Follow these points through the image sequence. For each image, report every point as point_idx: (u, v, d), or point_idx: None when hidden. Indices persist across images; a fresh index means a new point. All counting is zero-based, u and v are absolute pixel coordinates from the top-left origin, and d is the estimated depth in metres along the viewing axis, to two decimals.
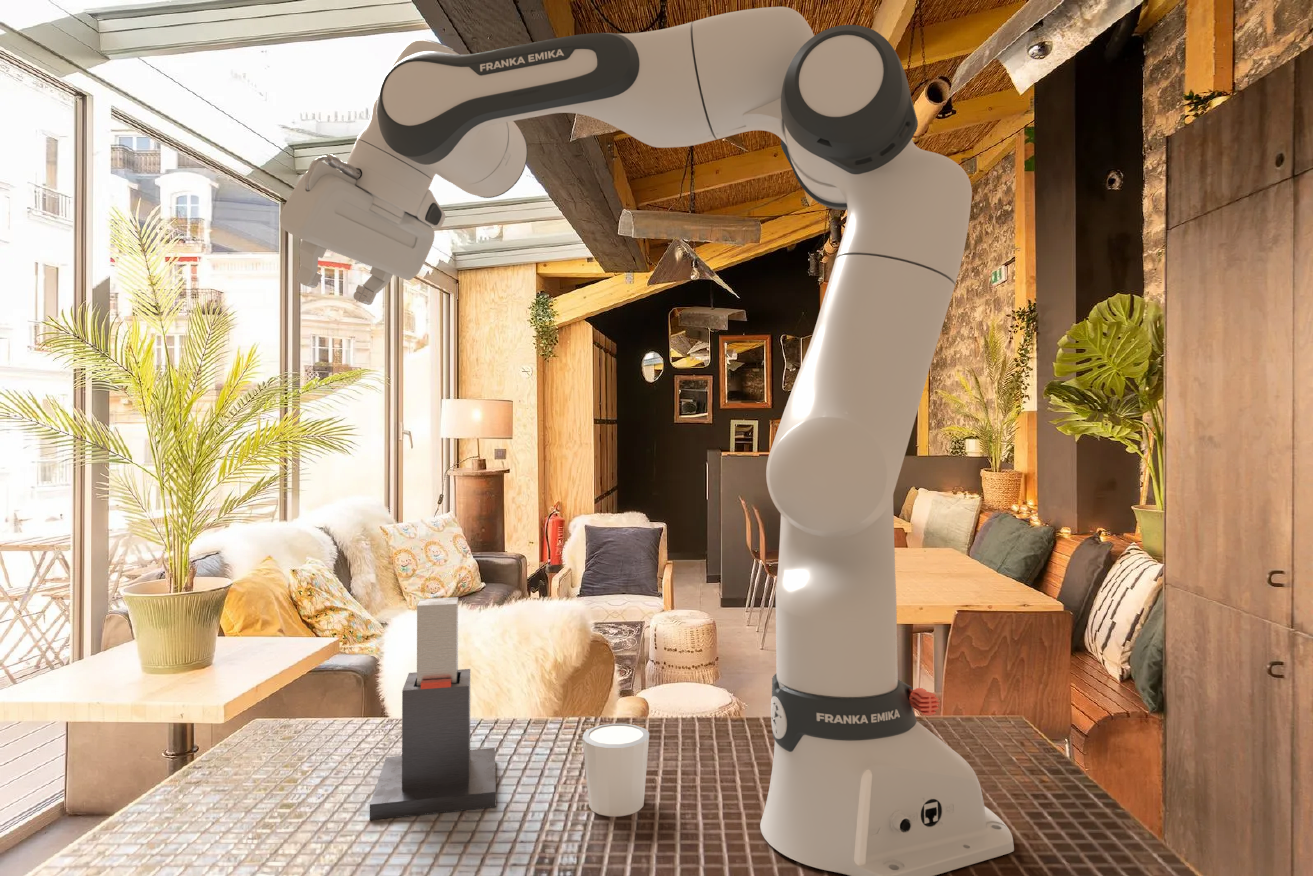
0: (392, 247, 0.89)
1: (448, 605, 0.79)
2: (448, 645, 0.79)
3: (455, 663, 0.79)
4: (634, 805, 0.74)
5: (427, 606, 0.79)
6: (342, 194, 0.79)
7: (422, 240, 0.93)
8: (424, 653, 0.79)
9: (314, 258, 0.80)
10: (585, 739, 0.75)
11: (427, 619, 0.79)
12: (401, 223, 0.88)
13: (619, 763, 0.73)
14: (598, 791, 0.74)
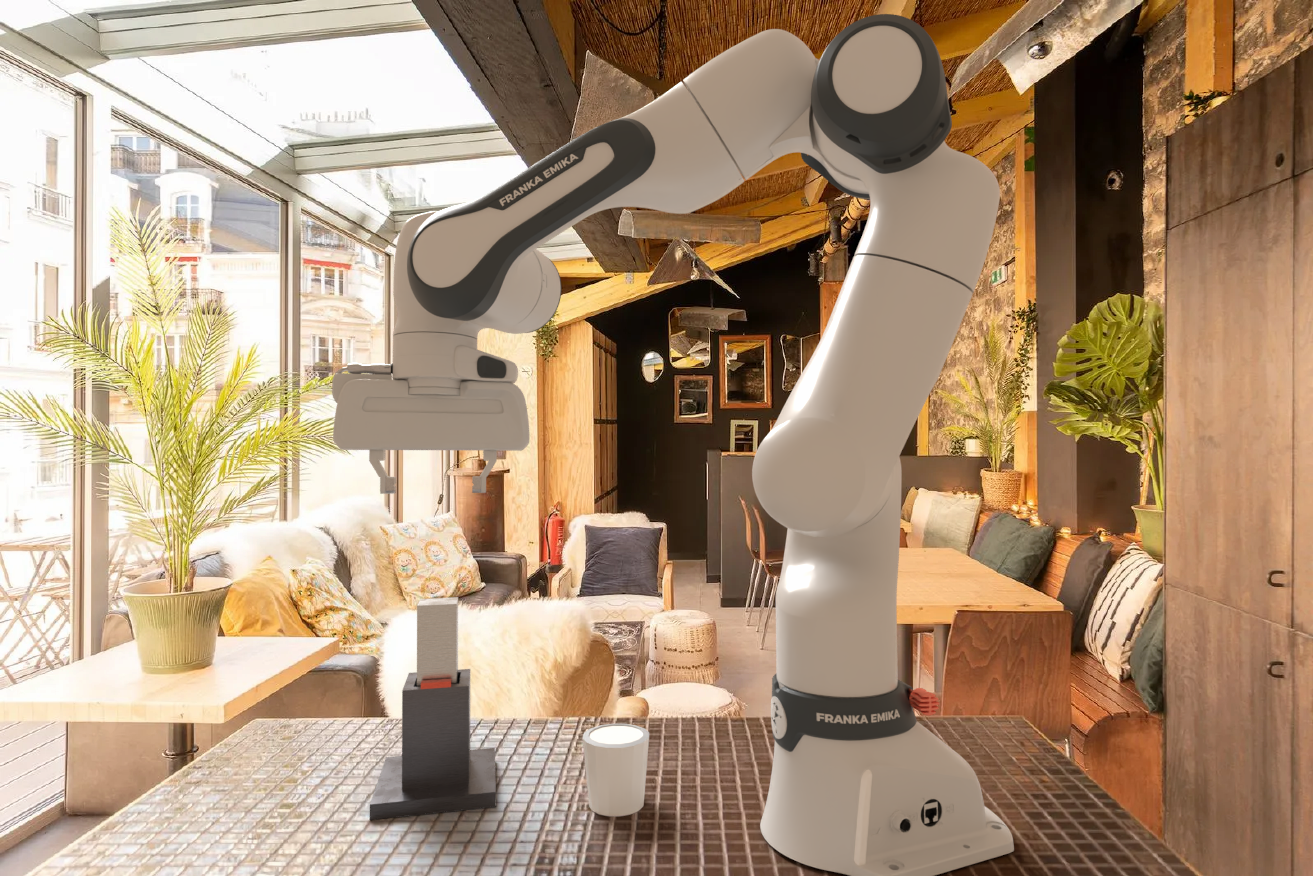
0: (468, 421, 0.81)
1: (448, 605, 0.79)
2: (448, 645, 0.79)
3: (455, 663, 0.79)
4: (634, 805, 0.74)
5: (427, 606, 0.79)
6: (363, 392, 0.78)
7: (507, 400, 0.81)
8: (424, 653, 0.79)
9: (373, 463, 0.79)
10: (585, 739, 0.75)
11: (427, 619, 0.79)
12: (462, 393, 0.80)
13: (619, 763, 0.73)
14: (598, 791, 0.74)
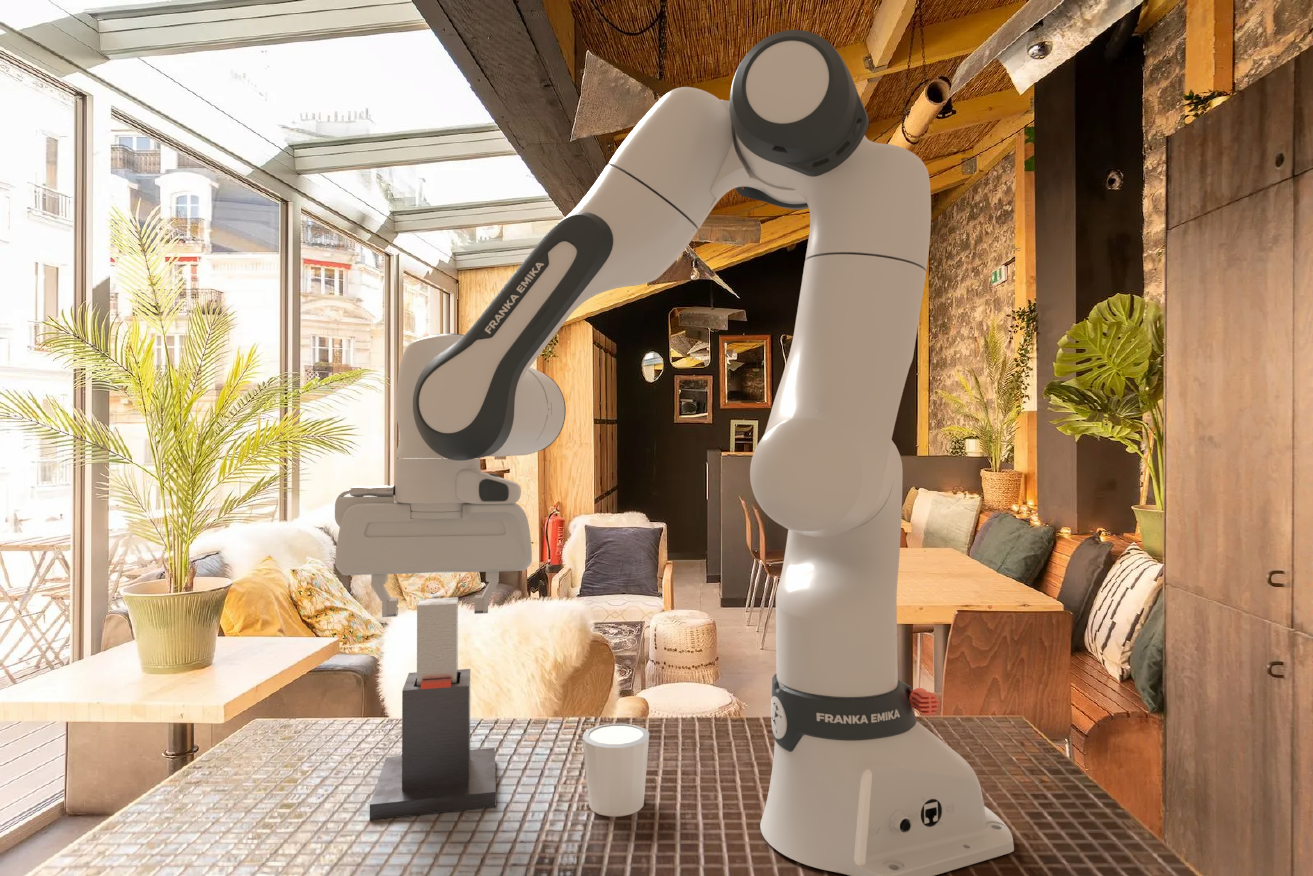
0: (470, 544, 0.80)
1: (448, 605, 0.79)
2: (448, 645, 0.79)
3: (455, 663, 0.79)
4: (634, 805, 0.74)
5: (427, 606, 0.79)
6: (365, 517, 0.78)
7: (509, 522, 0.81)
8: (424, 653, 0.79)
9: (375, 587, 0.79)
10: (585, 739, 0.75)
11: (427, 619, 0.79)
12: (465, 516, 0.80)
13: (619, 763, 0.73)
14: (598, 791, 0.74)
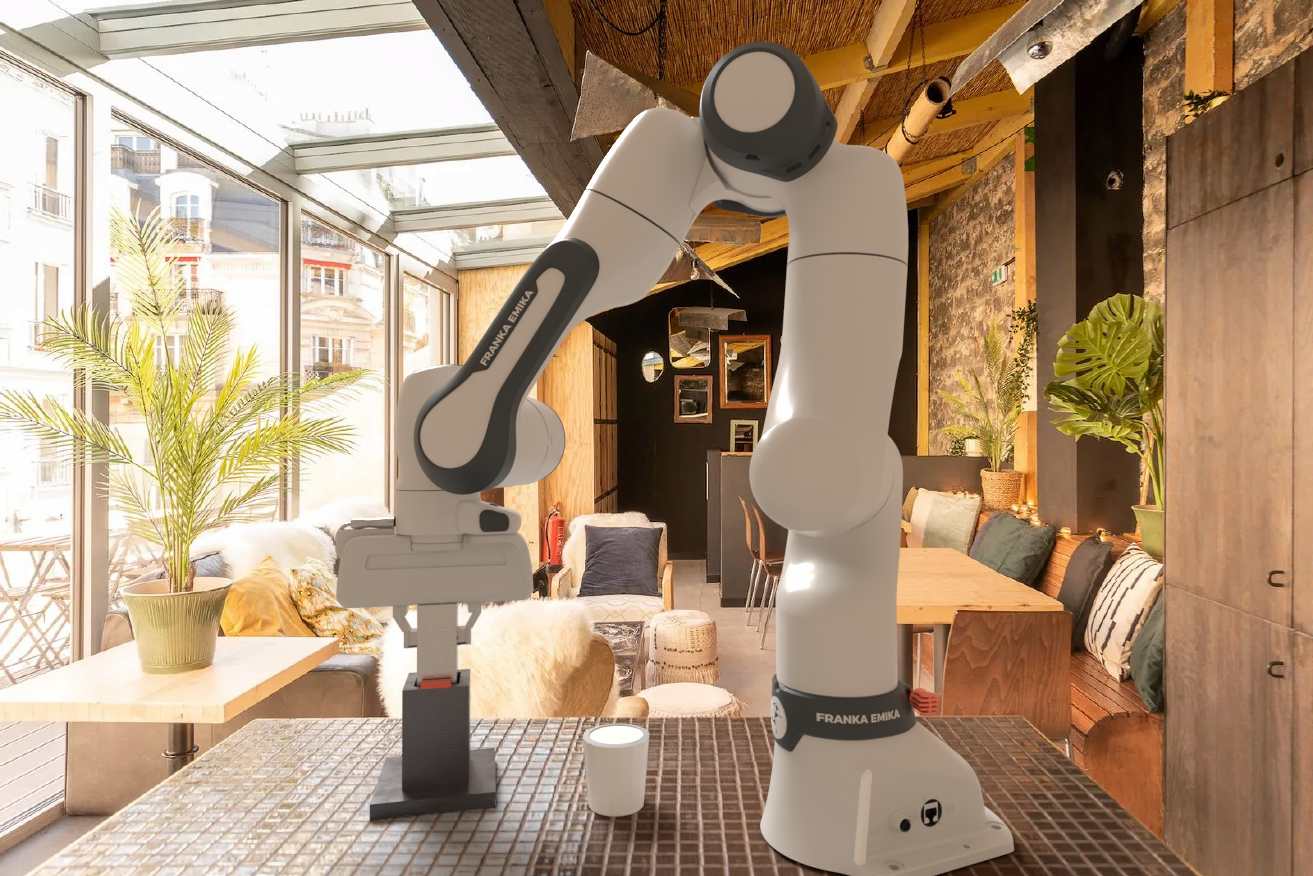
0: (471, 574, 0.80)
1: (448, 605, 0.79)
2: (448, 645, 0.79)
3: (455, 663, 0.79)
4: (634, 805, 0.74)
5: (427, 606, 0.79)
6: (366, 550, 0.78)
7: (510, 551, 0.81)
8: (424, 653, 0.79)
9: (396, 619, 0.79)
10: (585, 739, 0.75)
11: (427, 619, 0.79)
12: (465, 546, 0.80)
13: (619, 763, 0.73)
14: (598, 791, 0.74)
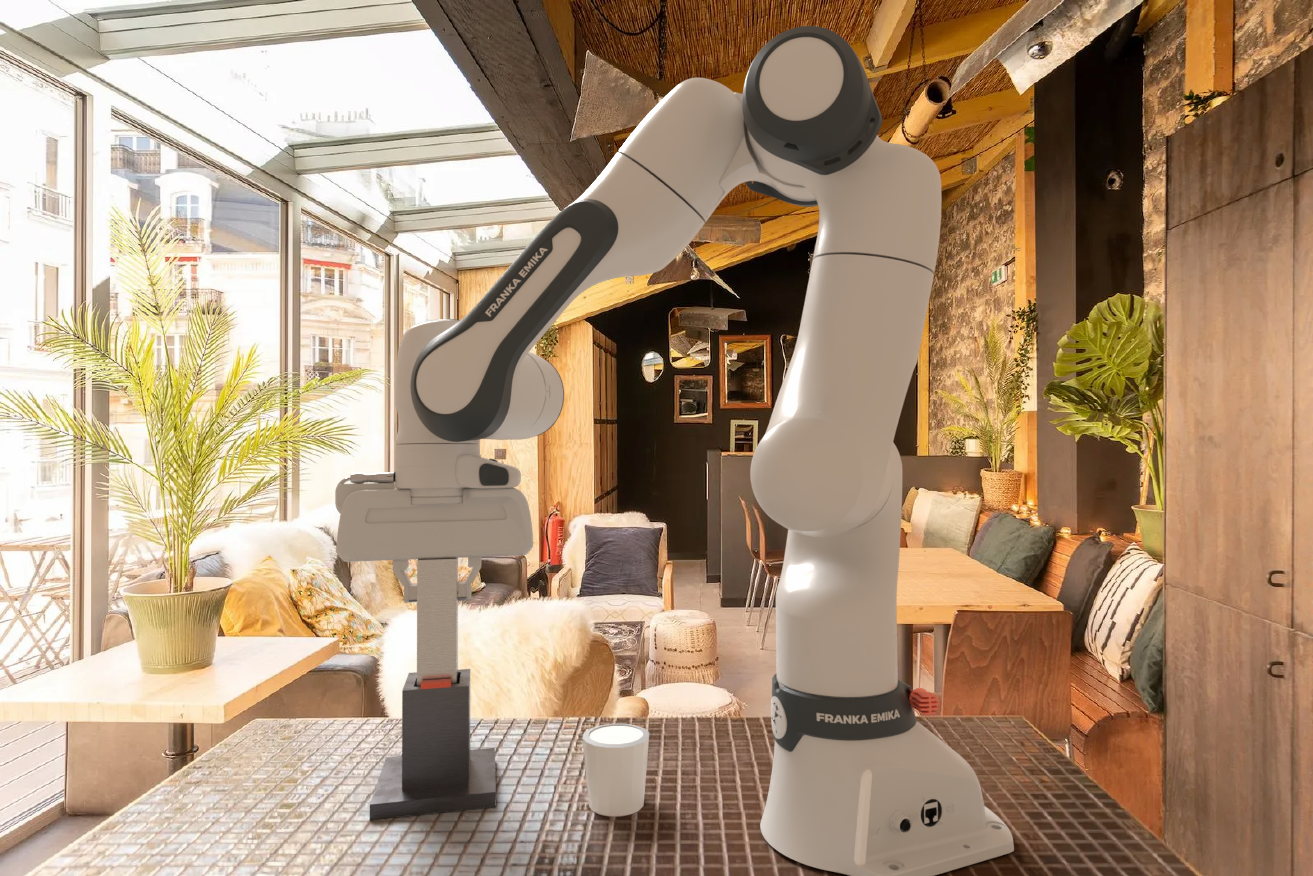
0: (471, 529, 0.80)
1: (448, 560, 0.79)
2: (448, 600, 0.79)
3: (455, 618, 0.79)
4: (634, 805, 0.74)
5: (427, 561, 0.79)
6: (366, 503, 0.78)
7: (510, 506, 0.81)
8: (424, 607, 0.79)
9: (396, 573, 0.79)
10: (585, 739, 0.75)
11: (427, 574, 0.79)
12: (465, 501, 0.80)
13: (619, 763, 0.73)
14: (598, 791, 0.74)
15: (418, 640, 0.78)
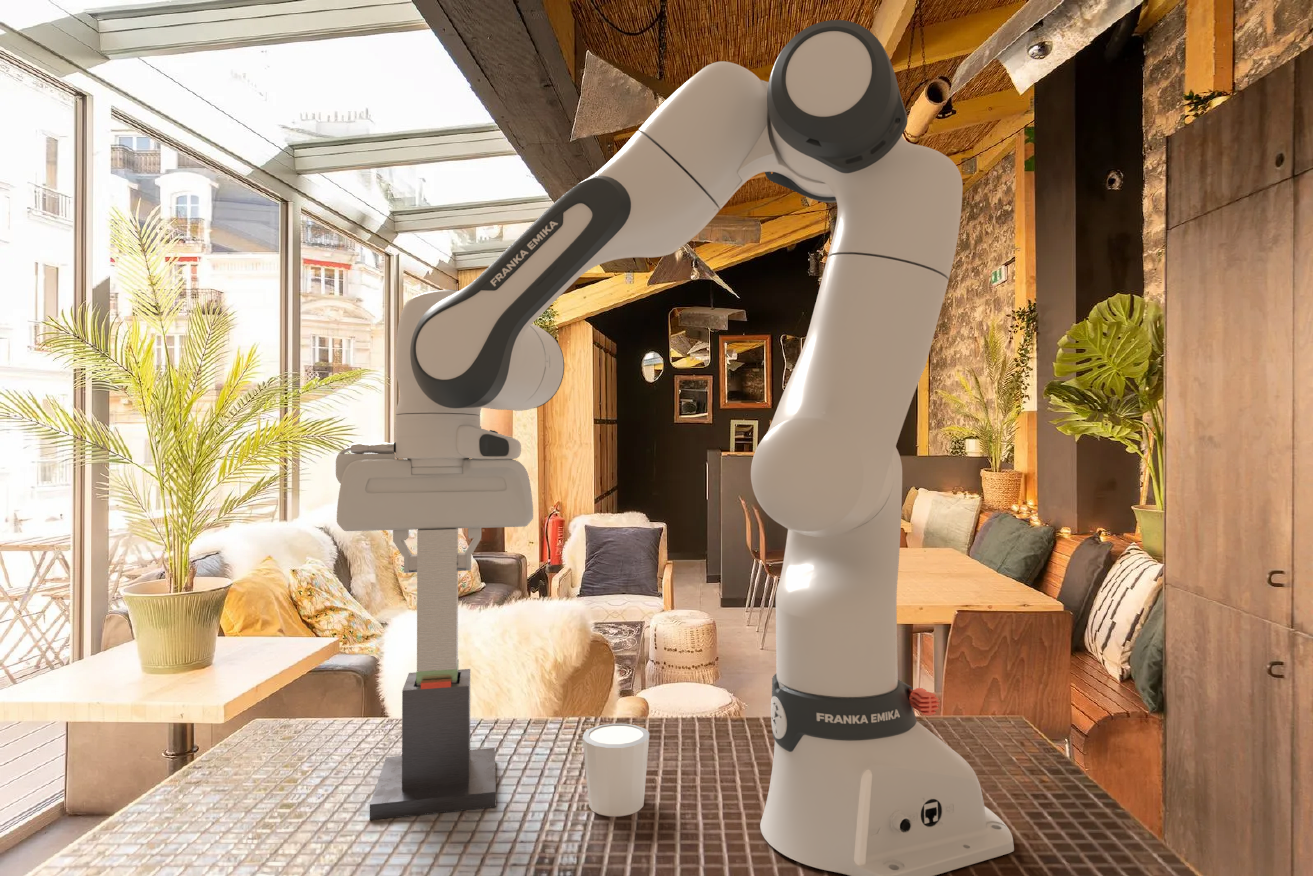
0: (471, 499, 0.80)
1: (448, 530, 0.79)
2: (449, 570, 0.79)
3: (455, 588, 0.79)
4: (634, 805, 0.74)
5: (427, 531, 0.79)
6: (366, 473, 0.78)
7: (510, 477, 0.81)
8: (424, 577, 0.79)
9: (397, 543, 0.79)
10: (585, 739, 0.75)
11: (427, 544, 0.79)
12: (465, 471, 0.80)
13: (619, 763, 0.73)
14: (598, 791, 0.74)
15: (418, 610, 0.79)
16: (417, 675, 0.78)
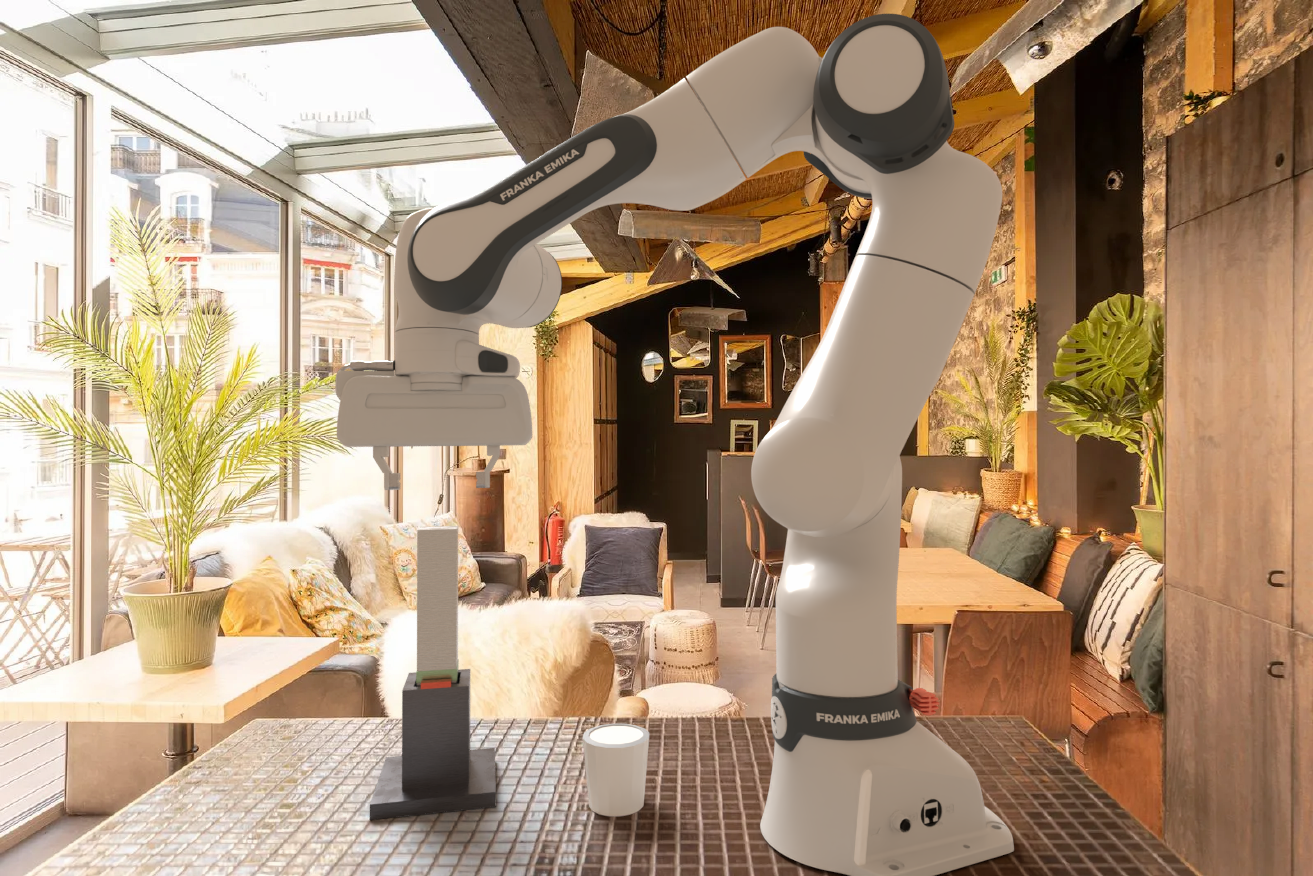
0: (470, 416, 0.81)
1: (448, 530, 0.79)
2: (449, 570, 0.79)
3: (455, 588, 0.79)
4: (634, 805, 0.74)
5: (427, 530, 0.79)
6: (366, 388, 0.78)
7: (509, 395, 0.81)
8: (424, 577, 0.79)
9: (377, 459, 0.79)
10: (585, 739, 0.75)
11: (427, 543, 0.79)
12: (465, 388, 0.80)
13: (619, 763, 0.73)
14: (598, 791, 0.74)
15: (418, 610, 0.79)
16: (417, 675, 0.78)
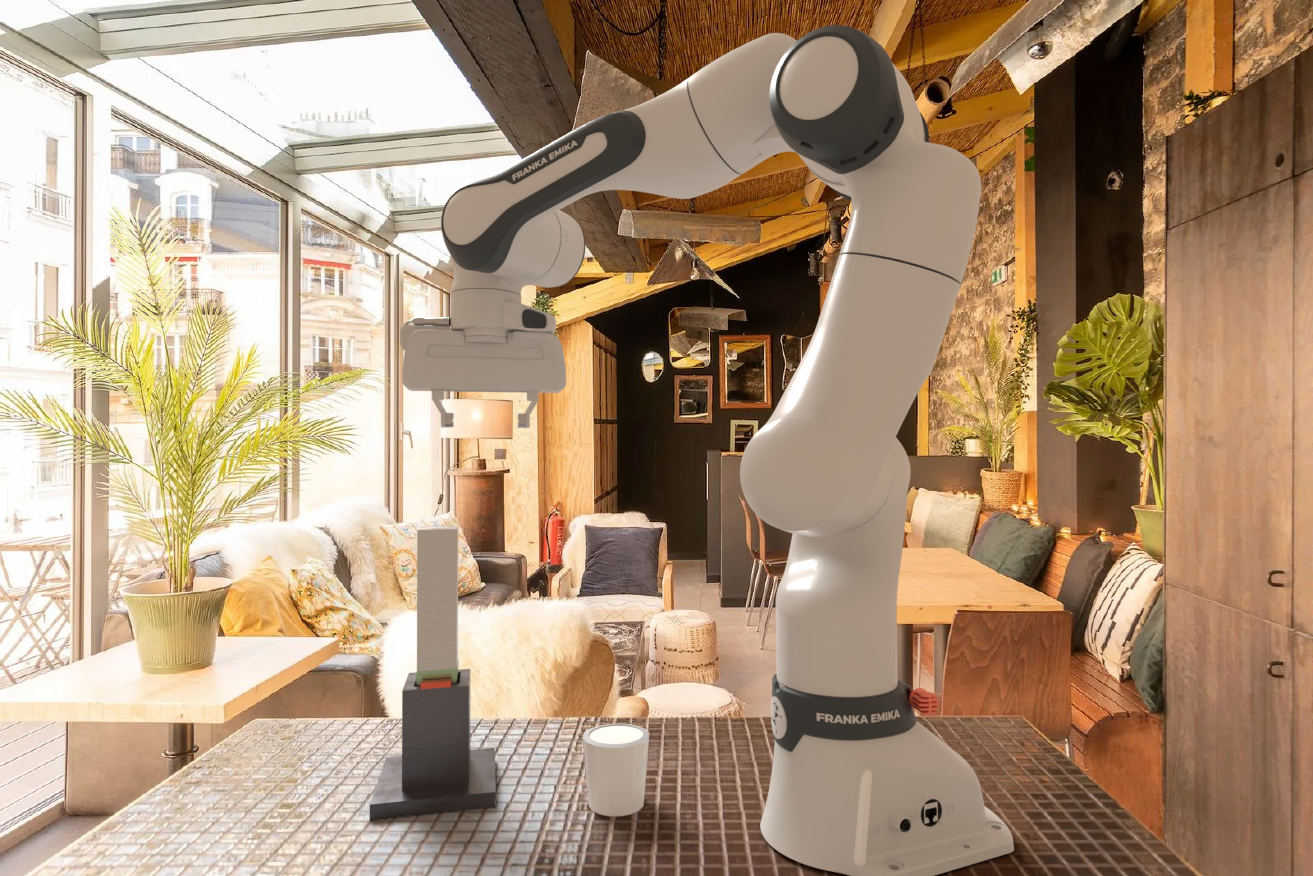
0: (514, 366, 0.94)
1: (448, 530, 0.79)
2: (449, 570, 0.79)
3: (455, 588, 0.79)
4: (634, 805, 0.74)
5: (427, 530, 0.79)
6: (427, 340, 0.92)
7: (547, 348, 0.95)
8: (424, 577, 0.79)
9: (435, 401, 0.93)
10: (585, 739, 0.75)
11: (427, 543, 0.79)
12: (509, 341, 0.94)
13: (619, 763, 0.73)
14: (598, 791, 0.74)
15: (418, 610, 0.79)
16: (417, 675, 0.78)
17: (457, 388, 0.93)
